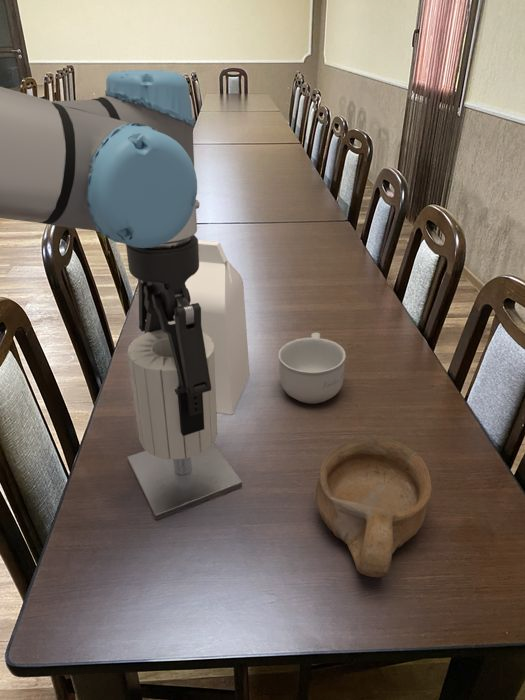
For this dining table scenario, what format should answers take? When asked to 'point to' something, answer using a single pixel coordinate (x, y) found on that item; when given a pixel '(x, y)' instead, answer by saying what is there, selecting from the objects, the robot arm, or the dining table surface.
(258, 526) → the dining table surface
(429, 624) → the dining table surface
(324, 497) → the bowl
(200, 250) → the milk
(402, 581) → the dining table surface
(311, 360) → the teacup
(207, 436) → the paper towel roll
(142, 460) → the towel stand
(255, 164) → the dining table surface
